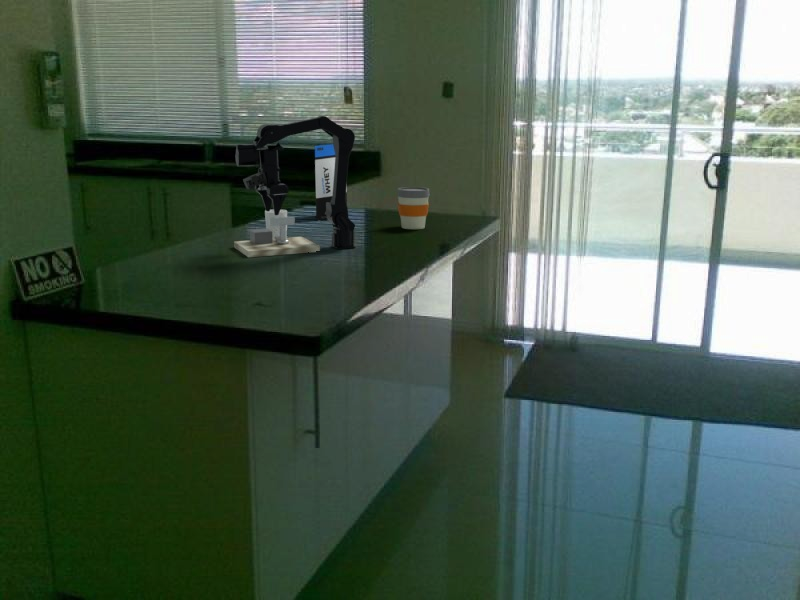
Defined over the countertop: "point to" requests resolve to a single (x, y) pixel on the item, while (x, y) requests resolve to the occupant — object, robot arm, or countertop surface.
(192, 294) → the countertop surface
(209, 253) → the countertop surface
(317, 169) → the protein powder
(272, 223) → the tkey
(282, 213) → the white cup
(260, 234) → the cover
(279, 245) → the panel
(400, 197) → the reusable coffee cup
